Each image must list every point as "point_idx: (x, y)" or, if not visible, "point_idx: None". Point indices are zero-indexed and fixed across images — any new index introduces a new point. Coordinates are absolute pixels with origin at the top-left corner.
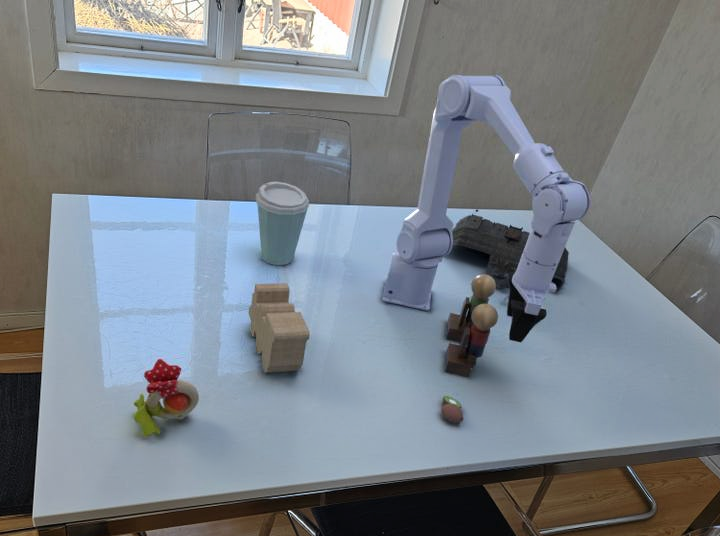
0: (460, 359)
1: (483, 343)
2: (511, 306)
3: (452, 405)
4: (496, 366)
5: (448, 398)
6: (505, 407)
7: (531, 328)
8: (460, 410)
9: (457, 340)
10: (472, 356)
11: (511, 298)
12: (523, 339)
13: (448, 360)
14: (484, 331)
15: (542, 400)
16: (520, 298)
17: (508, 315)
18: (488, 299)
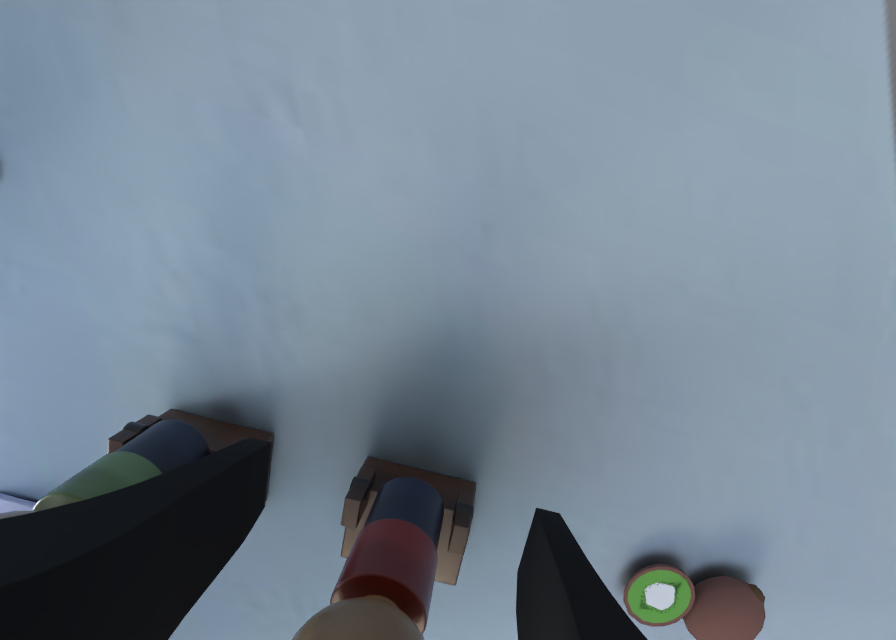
0: (439, 543)
1: (433, 554)
2: (221, 552)
3: (723, 638)
4: (392, 357)
5: (641, 604)
6: (640, 390)
7: (628, 620)
8: (745, 614)
9: (269, 468)
10: (461, 543)
11: (172, 617)
12: (568, 528)
13: (454, 585)
14: (406, 608)
15: (587, 223)
16: (163, 576)
17: (263, 503)
18: (76, 499)
